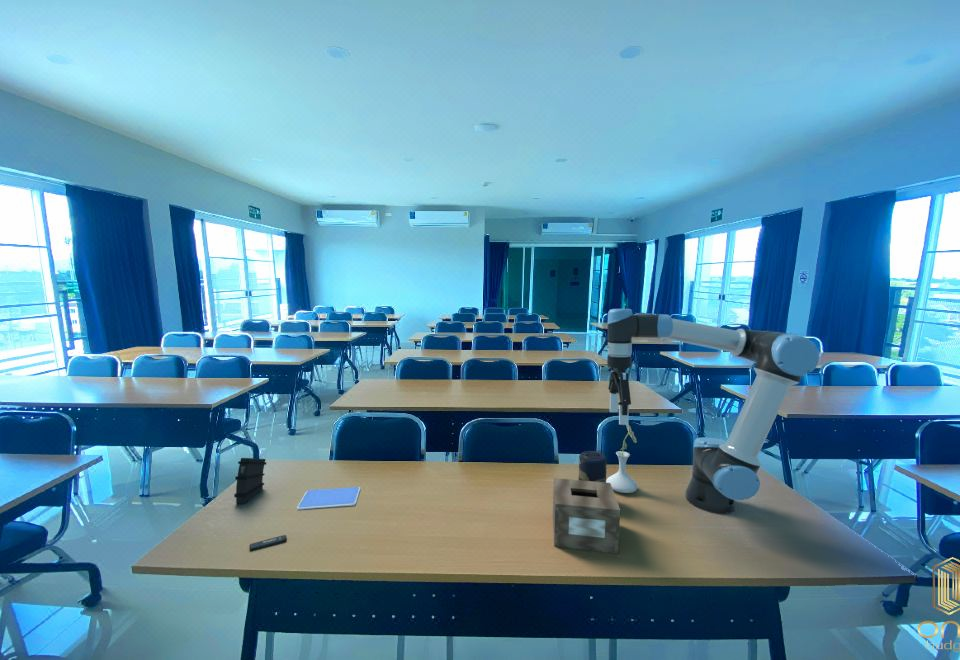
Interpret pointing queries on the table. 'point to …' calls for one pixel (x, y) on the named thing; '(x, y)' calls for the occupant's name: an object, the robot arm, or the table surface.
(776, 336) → the robot arm
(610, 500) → the suggestion box
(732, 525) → the table surface
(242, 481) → the black flat ridged block
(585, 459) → the canister
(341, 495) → the tablet computer
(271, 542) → the usb stick
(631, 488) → the flower in vase
